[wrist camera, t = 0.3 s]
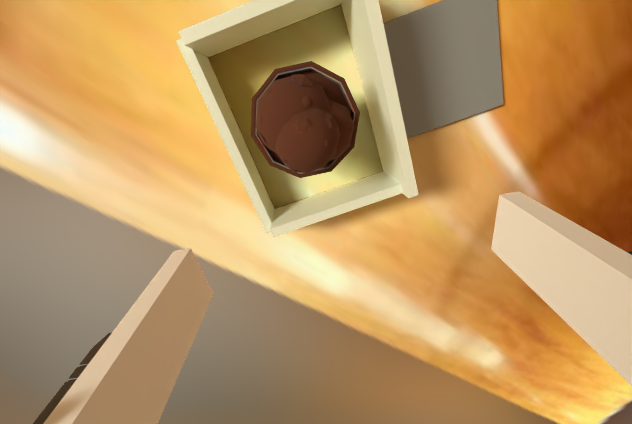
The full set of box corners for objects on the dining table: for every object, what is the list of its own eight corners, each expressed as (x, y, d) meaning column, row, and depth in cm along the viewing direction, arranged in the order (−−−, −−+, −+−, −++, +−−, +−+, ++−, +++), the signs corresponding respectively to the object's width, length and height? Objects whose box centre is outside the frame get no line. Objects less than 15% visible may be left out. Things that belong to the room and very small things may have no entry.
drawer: (194, 50, 32) (156, 30, 23) (347, -12, 30) (366, -57, 22) (270, 218, 40) (262, 247, 32) (392, 176, 39) (418, 194, 31)
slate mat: (377, 26, 32) (378, 25, 31) (492, -18, 31) (495, -21, 30) (401, 139, 37) (402, 140, 36) (500, 104, 36) (503, 104, 35)
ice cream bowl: (360, 115, 35) (400, 121, 22) (305, 176, 38) (309, 216, 24) (301, 53, 32) (303, 13, 18) (245, 123, 35) (210, 135, 21)
